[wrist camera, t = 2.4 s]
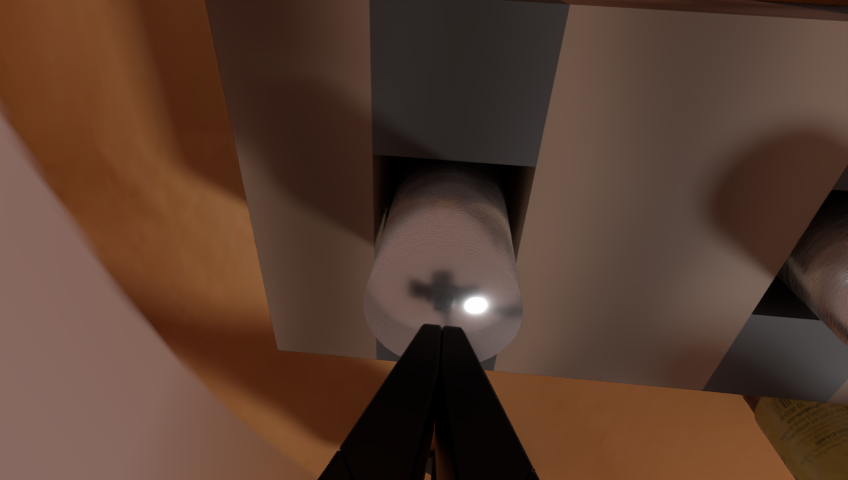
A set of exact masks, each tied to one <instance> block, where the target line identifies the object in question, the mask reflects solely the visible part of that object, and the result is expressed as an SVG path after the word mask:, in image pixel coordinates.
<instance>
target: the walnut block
mask: <svg viewBox="0 0 848 480" xmlns="http://www.w3.org/2000/svg"><path fill="white" fill-rule="evenodd" d="M205 2H206V7H207V12H208V17H209V21H210V26H211V31H212V36H213V41H214V45H215V50H216V55H217V60H218V65H219V70H220V74H221V79H222V84H223V89H224V94H225V99H226V103H227V108H228V113H229V118H230V123H231V128H232V132H233V137H234V142H235V147H236V152H237V157H238V161H239V166H240V171H241V176H242V181H243V186H244V190H245V195H246V200H247V205H248V210H249V214H250V219H251V224H252V229H253V234H254V239H255V243H256V248H257V253H258V258H259V263H260V268H261V272H262V277H263V282H264V287H265V292H266V297H267V301H268V306H269V311H270V316H271V321H272V326H273V330H274V335H275V340H276V345H277V350H283V351H293V352H304V353H314V354H325V355H335V356H345V357H356V358H366V359H377V360H387V361H398V360H399V358H400V356H398V355H397V354H395V353H393V352H392V351H390V350H389V349H387V348H386V347H385V346H384V345H383V344H382V343H380V342H379V340H378V339H377V338H376V337H375V336H374V334H373V333H372V331H371V330H370V328H369V326H368V324H367V322H366V319H365V315H364V309H363V301H364V295H365V291H366V288H367V284H368V281H369V278H370V274H371V271H372V268H373V264H374V261H375V258H376V254H377V251H378V248H379V244H380V241H381V237H382V234H383V231H384V227H385V224H386V221H387V217H388V214H389V211H390V207H391V204H392V201H393V197H394V194H395V191H396V187H397V184H398V181H399V177H400V174H401V171H402V157H413V158H426V159H439V160H452V161H465V162H478V163H491V164H501V168H500V173H501V179H502V185H503V191H504V197H505V203H506V209H507V214H508V220H509V226H510V232H511V238H512V244H513V250H514V256H515V262H516V268H517V274H518V280H519V286H520V292H521V298H522V304H523V317H522V322H521V325H520V328H519V330H518V332H517V334H516V336H515V337H514V339H513V340H512V341H511V343H510V344H508V345H507V346H506V347H505V348H504V349H503V350H502V351H500V352H499V353H498V354H496V355H494V356H493V357H491V358H489V359H486V360H484V361H482V362H480V363H481V365H482V367H483V369H484V370H491V371H501V372H512V373H522V374H533V375H543V376H554V377H564V378H574V379H585V380H595V381H606V382H616V383H626V384H637V385H647V386H658V387H668V388H678V389H689V390H699V391H710V392H720V393H730V394H741V395H751V396H762V397H772V398H782V399H793V400H803V401H814V402H824V403H835V404H845V405H848V347H847V346H846V345H845V344H844V343H843V342H842V341H841V340H840V339H839V338H838V337H837V336H836V335H835V334H834V333H833V332H832V331H831V330H830V329H829V328H828V327H827V326H826V325H825V324H824V323H823V322H822V321H821V320H820V319H819V318H818V317H817V316H816V315H815V314H814V313H813V312H812V311H811V310H810V309H809V308H808V307H807V306H806V305H805V304H804V303H803V302H802V301H801V300H800V299H799V298H798V297H797V296H796V294H795V293H794V292H793V291H792V290H791V289H790V288H789V287H788V286H787V285H786V284H785V283H784V282H783V281H782V280H781V279H780V278H779V277H778V276H777V273H778V272H779V270H780V269H781V267H782V266H783V264H784V262H785V261H786V259H787V258H788V256H789V255H790V253H791V252H792V250H793V249H794V247H795V245H796V244H797V242H798V241H799V239H800V238H801V236H802V235H803V233H804V231H805V230H806V228H807V227H808V225H809V224H810V222H811V221H812V219H813V217H814V216H815V214H816V213H817V211H818V210H819V208H820V207H821V205H822V204H823V202H824V200H825V199H826V197H827V196H828V194H829V193H830V191H831V190H843V191H848V6H840V5H823V4H806V3H790V2H773V1H756V0H205Z"/></svg>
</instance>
